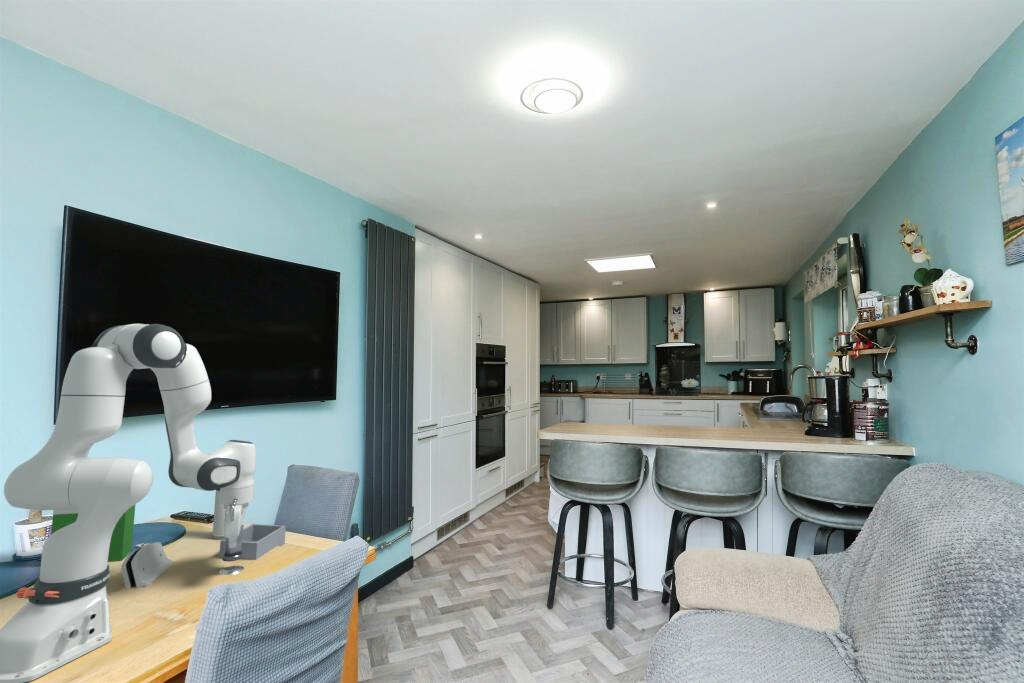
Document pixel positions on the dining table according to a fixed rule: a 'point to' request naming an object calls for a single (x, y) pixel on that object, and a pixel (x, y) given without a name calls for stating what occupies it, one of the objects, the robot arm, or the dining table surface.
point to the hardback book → (120, 535)
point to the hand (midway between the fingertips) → (233, 543)
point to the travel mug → (218, 518)
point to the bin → (259, 540)
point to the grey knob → (234, 549)
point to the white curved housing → (144, 565)
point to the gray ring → (231, 570)
